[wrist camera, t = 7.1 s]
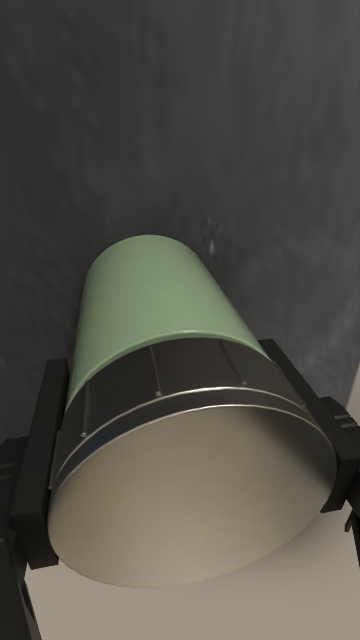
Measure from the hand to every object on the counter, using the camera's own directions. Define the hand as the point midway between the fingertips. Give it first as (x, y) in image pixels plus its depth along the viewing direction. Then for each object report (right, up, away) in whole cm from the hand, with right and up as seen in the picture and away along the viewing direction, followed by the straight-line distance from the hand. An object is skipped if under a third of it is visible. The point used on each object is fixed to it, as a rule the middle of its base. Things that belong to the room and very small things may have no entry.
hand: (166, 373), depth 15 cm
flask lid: (+1, -3, -5) cm, 6 cm away
